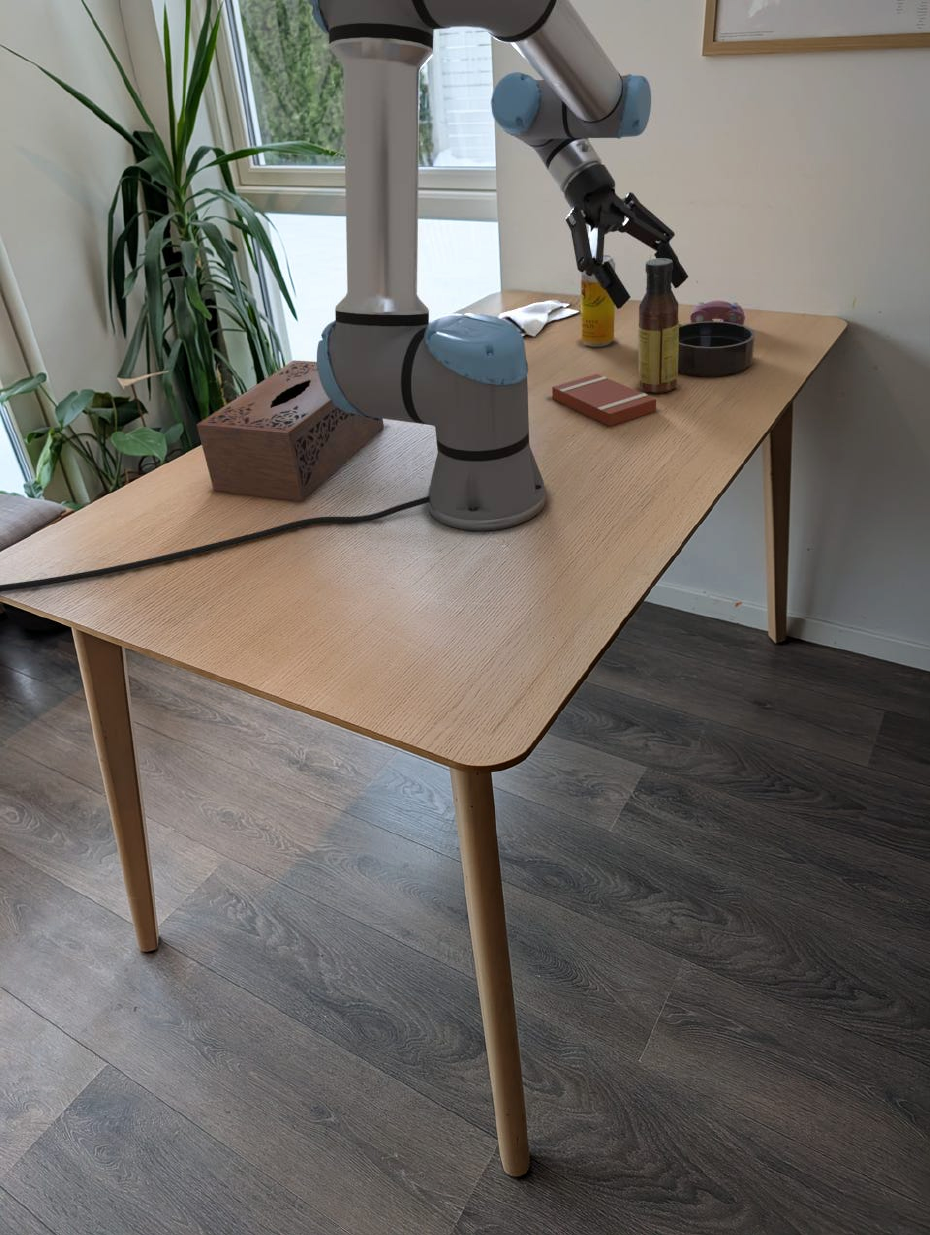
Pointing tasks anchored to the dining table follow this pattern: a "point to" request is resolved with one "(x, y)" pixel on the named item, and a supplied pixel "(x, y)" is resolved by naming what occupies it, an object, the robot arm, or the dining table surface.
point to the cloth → (536, 316)
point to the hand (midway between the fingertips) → (653, 293)
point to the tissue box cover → (282, 436)
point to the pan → (714, 348)
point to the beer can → (596, 310)
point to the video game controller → (718, 312)
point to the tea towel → (604, 399)
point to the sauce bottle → (658, 330)
